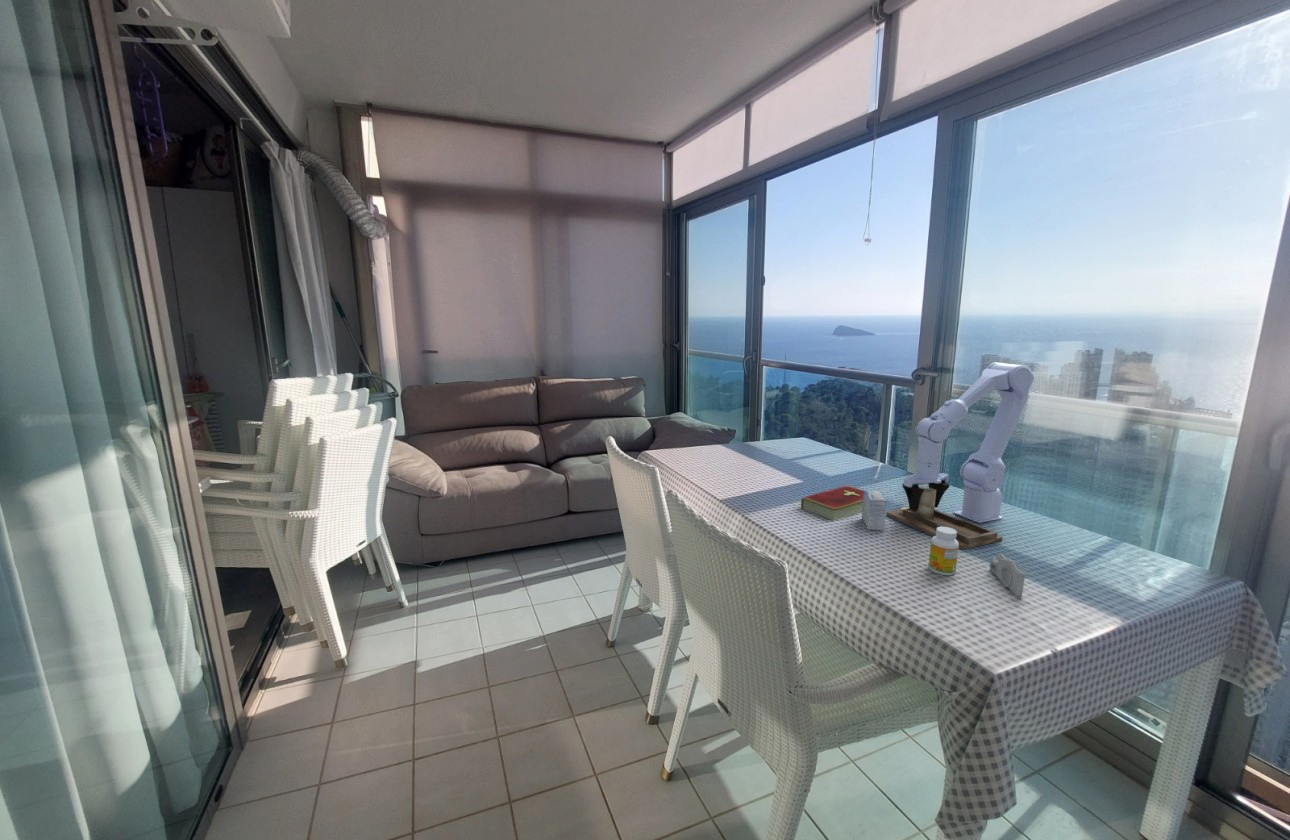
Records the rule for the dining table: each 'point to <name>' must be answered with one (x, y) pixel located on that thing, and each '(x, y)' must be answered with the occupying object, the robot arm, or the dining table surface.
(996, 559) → the grey toy camera
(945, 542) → the supplement bottle
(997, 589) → the dining table surface
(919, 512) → the ash peg
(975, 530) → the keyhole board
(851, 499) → the hardcover book
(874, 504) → the medicine box
